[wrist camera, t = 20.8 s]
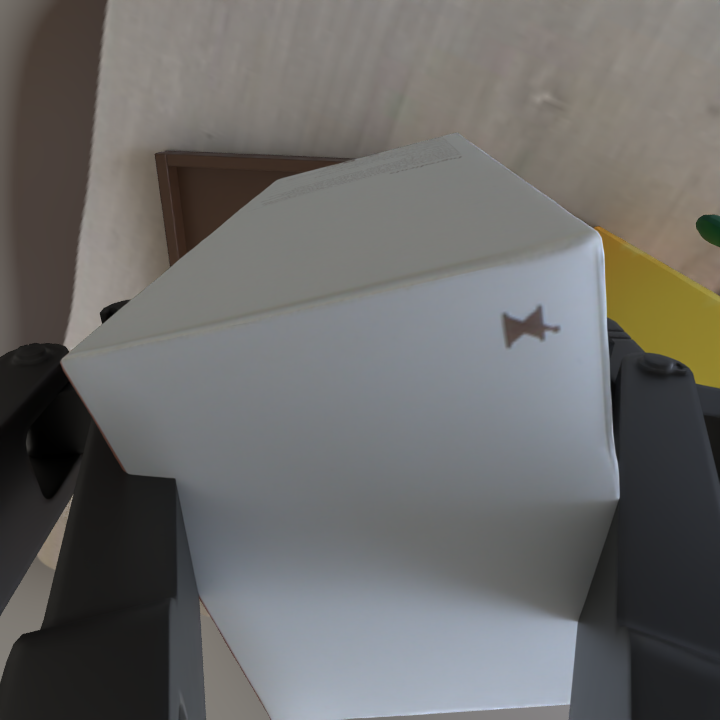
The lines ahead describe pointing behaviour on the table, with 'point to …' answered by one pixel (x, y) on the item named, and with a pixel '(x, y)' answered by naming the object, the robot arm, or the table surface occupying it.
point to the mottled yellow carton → (665, 304)
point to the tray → (216, 189)
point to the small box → (379, 431)
